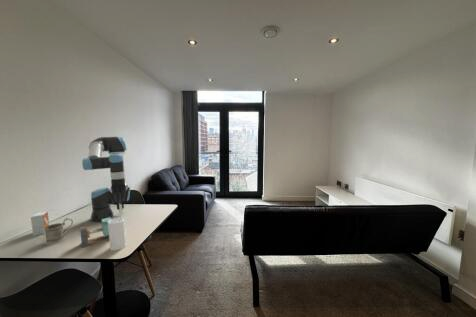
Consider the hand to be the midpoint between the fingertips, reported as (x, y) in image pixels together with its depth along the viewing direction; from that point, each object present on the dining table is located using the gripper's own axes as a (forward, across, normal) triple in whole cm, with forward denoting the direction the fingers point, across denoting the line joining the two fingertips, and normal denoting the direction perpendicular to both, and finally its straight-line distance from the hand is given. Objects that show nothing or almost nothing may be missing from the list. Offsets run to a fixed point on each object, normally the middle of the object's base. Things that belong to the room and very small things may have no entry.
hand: (120, 213), depth 133 cm
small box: (+14, -41, +42) cm, 60 cm away
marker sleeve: (+11, -8, 0) cm, 13 cm away
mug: (+14, -31, +20) cm, 39 cm away
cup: (+14, -5, -16) cm, 22 cm away
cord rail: (+14, -12, 0) cm, 18 cm away
